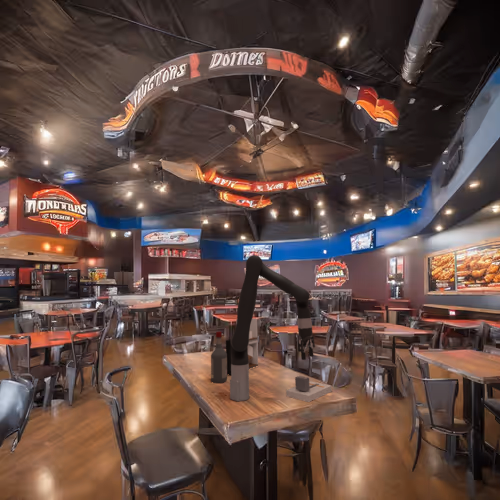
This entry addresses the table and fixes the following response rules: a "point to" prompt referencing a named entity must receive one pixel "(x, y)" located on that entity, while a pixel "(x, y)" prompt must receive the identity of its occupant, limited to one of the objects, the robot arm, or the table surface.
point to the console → (309, 392)
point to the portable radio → (228, 355)
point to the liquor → (218, 362)
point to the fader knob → (302, 383)
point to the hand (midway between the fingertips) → (307, 358)
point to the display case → (253, 344)
